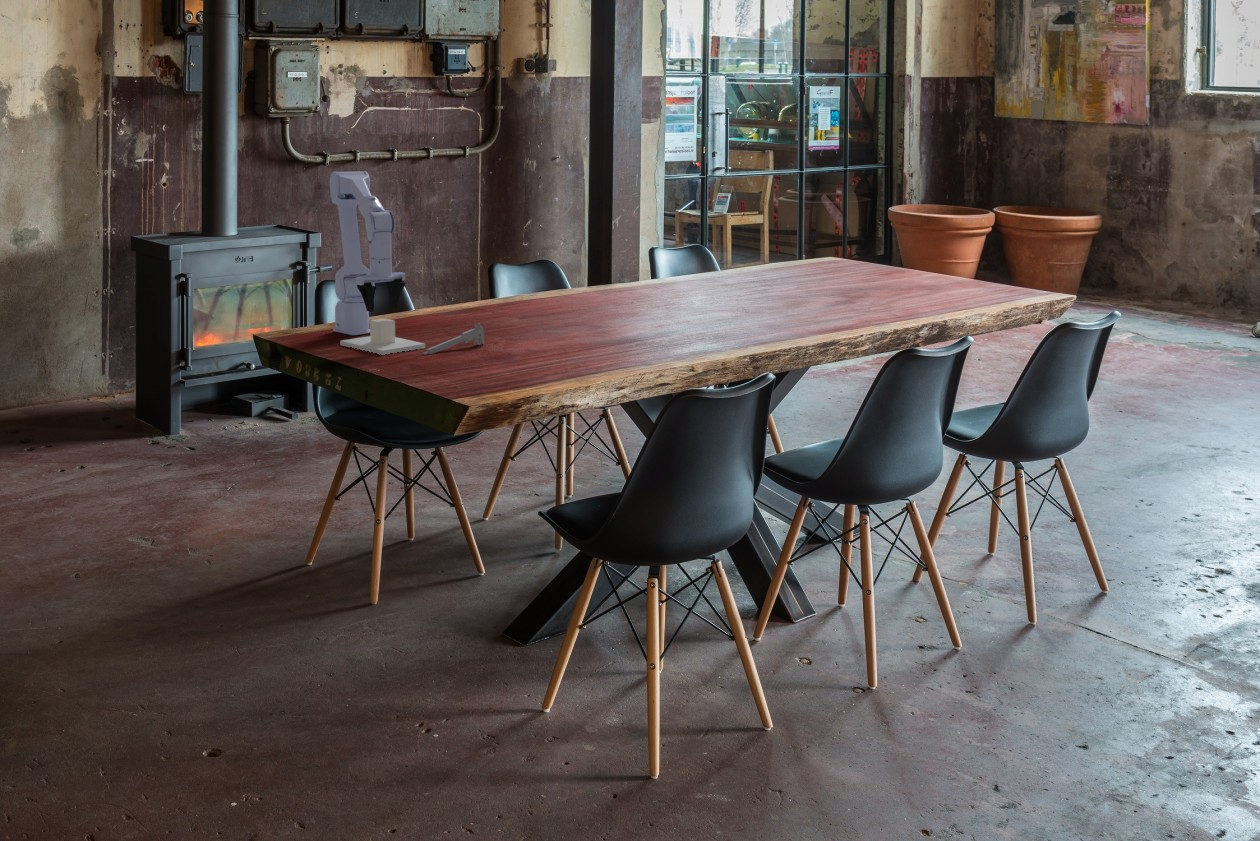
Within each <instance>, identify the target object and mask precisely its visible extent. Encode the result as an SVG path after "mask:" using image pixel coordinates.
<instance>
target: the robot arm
mask: <svg viewBox="0 0 1260 841" xmlns="http://www.w3.org/2000/svg"><path fill="white" fill-rule="evenodd" d="M370 189H371V177H370V174H369V172H367V171H366V170H363V171H335V170H334V171H332V172H331V174H330V176H329V190H330V191H329V192H330V199H331V204H332V203H333V204H334V205H336V206H337V210H338V216H339V228H340V236H341V245H342V246H341V247H342V253H343V266H342V267H341V268H339V270H337V271H336V273H335V276H334V277H335V280H334V281H335V283H334V290H335V291H334V292H335V296H336V297H337V299H338V301H337V303H336V305H335V307H334V314H335V315H334V316H335V317H334V319H335V320H334V324H335V328H333V329H332V331H333V332H336V333H341V334H345V335H348V336H358V335H365V334H366V335H367V334H370V313H372V312H374V310H375V309H374V308H375V294H376V290H377V286H376V285H375V284H377V283H386V287H387V290H388V300H389V301H388V302H389V303H388V304H389V308H390V309H394V310H396V309H397V308H398V305H399V300H400V297H401V295H402V291H403V289H404V288H405V286H406V282H405V281H406V272H401V271H399V272H398V271H397V272H396V271H395V272H393V261H392V260H393V258H392V257H393V255H392V254H393V253H392V250H393V249H392V234H393V233H394V231H395V223H396V222H395V217H394V213H393V211H391V210H388V209H387V210H386V209H385V208H384V206H383V205H382V203H381V201H380V200H379V198H377V197H376V196H375V195H372V194H371V191H370ZM357 206H358V207H357ZM357 208H358V210H359V212H360V214H361V215H362V217H363V219H364V223H365V224H364V226H365V231H366V238H367V241H368V253H369V259H368V260H369V268H368V267H366V266H365V265H364V264H363V260H362V259H363V258H362V249H361V242H360V241H361V240H360V233H359V232H360V230H359V224H358V213H357ZM369 312H370V313H369Z"/></svg>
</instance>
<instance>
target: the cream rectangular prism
mask: <svg viewBox="0 0 1260 841" xmlns="http://www.w3.org/2000/svg"><path fill="white" fill-rule="evenodd" d="M369 329H370V333H369V334H370V335H369V336H370V340H371V342H372V343H377V344H381V345H382V344H388V343H395V337H396V321H395V320H393V319H388V318H378V319H369Z"/></svg>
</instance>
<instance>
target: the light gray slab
mask: <svg viewBox="0 0 1260 841" xmlns="http://www.w3.org/2000/svg"><path fill="white" fill-rule="evenodd" d="M339 341H340V342H339V343H340V346H342V347H346V348H347V347H348V348H350V347H352V348H351V349H355V348H357V349H356V350H359V349H360V351H363V350H365V351H364V352H367V351H369V352H368V353H371V352H373V353H372V354H375V353H377V355H380V354H381V355H380V356H386V355H385V354H387V355H391V354H390V353H393V354H397V352H399V353H403V352H402V351H405V352H410V351H409V350H411V351H417V350H422V349H425V348H426V343H424V342H420V341H415V340H410V339H405V338H403V337H397V336H395V343H388V344H382V345H381V344H377V343H372V342H371V340H370V335H369V336H362V337H355V338H350V339H343V340H339ZM416 349H417V350H416Z"/></svg>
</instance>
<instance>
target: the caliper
mask: <svg viewBox="0 0 1260 841" xmlns="http://www.w3.org/2000/svg"><path fill="white" fill-rule="evenodd" d="M471 341H473V343H474V345H475V346H477V345H479V346H480V345H482V344H484V345H485V330H484V327H483V326H482V325H481V323H480V322H477V324H476V323H474V328H472V329H469V330H467V331H464V332H461V334H460V335H458V336H456V337H453V338H452V339H449V340H446V341H444V342H441V343H439V344H436V345H434V346H431V347H429V348H427V349H426V351H424V352H423V353H422V354H423V355H425V356H427V355H431V354H436V353H439V352H440V351H441V352H442V351H443V350H445V349H448V348H450V347H452V346H456V345H458V344H459V343H464V344H468V342H471Z"/></svg>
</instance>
